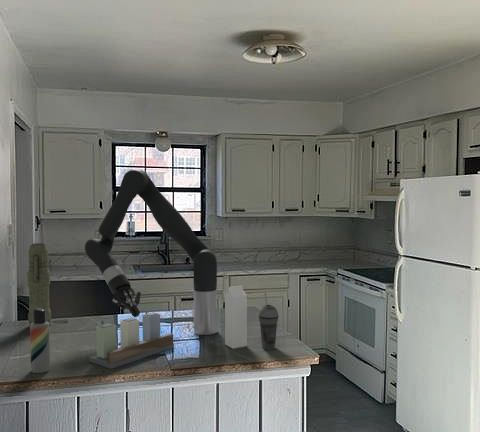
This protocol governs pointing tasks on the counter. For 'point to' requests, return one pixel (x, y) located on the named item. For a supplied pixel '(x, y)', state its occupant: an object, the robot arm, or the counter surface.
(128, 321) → the key cream
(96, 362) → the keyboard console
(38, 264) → the thermos
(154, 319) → the key slate
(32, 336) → the lotion bottle
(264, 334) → the beverage cup
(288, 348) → the counter surface
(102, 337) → the key sage
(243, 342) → the milk
